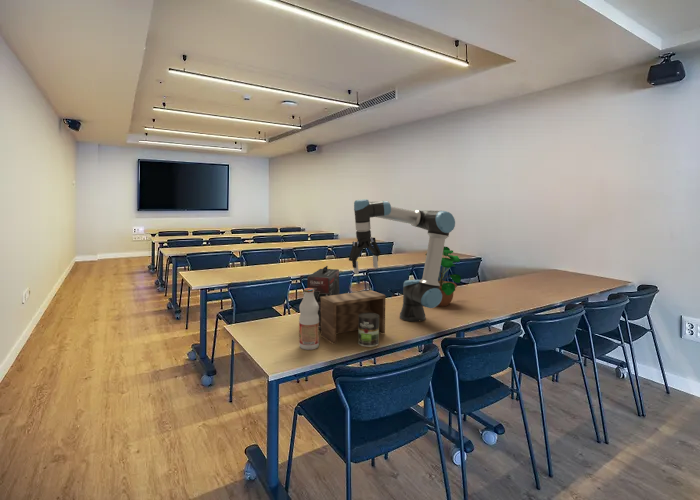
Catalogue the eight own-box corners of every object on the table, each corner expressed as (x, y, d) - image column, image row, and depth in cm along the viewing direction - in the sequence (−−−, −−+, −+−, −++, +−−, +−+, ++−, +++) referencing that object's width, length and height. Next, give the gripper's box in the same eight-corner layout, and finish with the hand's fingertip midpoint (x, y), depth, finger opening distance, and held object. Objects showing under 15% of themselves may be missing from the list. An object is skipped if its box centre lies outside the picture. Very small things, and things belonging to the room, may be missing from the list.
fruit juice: (308, 351, 177) (308, 292, 174) (295, 346, 184) (294, 289, 180) (323, 346, 184) (323, 288, 181) (310, 341, 191) (309, 285, 187)
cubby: (370, 326, 215) (371, 290, 212) (384, 333, 203) (385, 295, 201) (320, 335, 199) (320, 296, 197) (333, 343, 188) (333, 302, 185)
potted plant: (434, 312, 243) (436, 250, 239) (415, 301, 271) (417, 245, 266) (477, 309, 251) (480, 249, 246) (455, 298, 279) (457, 244, 274)
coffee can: (376, 348, 182) (376, 319, 181) (355, 345, 185) (355, 317, 184) (381, 340, 192) (381, 313, 191) (361, 338, 195) (361, 311, 194)
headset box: (329, 331, 205) (329, 270, 201) (306, 330, 208) (306, 269, 204) (340, 318, 229) (340, 263, 225) (319, 317, 231) (319, 262, 227)
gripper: (375, 226, 206) (378, 264, 211) (339, 233, 191) (343, 275, 195) (385, 226, 201) (388, 266, 205) (349, 234, 185) (352, 277, 190)
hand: (366, 270), depth 200 cm, fingers open, 13 cm apart
